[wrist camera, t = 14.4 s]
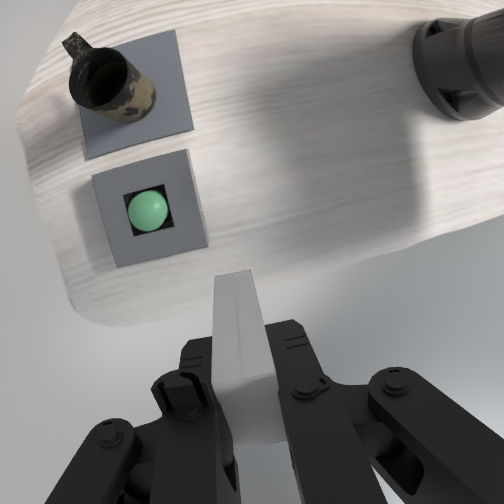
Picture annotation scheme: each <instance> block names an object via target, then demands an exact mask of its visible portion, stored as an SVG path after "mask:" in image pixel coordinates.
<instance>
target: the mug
mask: <svg viewBox="0 0 504 504" xmlns="http://www.w3.org/2000/svg"><path fill="white" fill-rule="evenodd" d="M62 44H63V46H64V48H65V49H66V51H67V52H68V53H69V55H70V56H71V57H72V59H73V64H72V72H71V75H70V78H69V90H70V94H71V96H72V98H73V99H74V100H75V101H76V103H77V104H79V105H81V106H83V107H85V108H87V109H88V110H90V111H92V112H94V113H97V114H99V115H101V116H104V117H106V118H109V119H112V120H115V121H120V122H125V123H134V122H137V121H140V120H141V119H143V118H145V117H146V116H147V115H148V114H149V113H150V112H151V110H152V109H153V107H154V105H155V102H156V89H155V86H154V85H153V83H152V82H151V81H150V80H149V79H148V78H147V77H146V76H144V75H143V74H142V73H141V72H140V71H139V70H138V69H137V68H136V67H135V66H134V65H132V64H131V63H130V62H129V61H128V60H127V59H126V58H125V57H124V56H123V55H122V54H121V53H120V52H119V51H117V50H115V49H113V48H106V47H104V48H92V47H91V46H90V45H89V44H88V43H87V42H86V41H85V40H84V39H83V38H82V37H81V36H80V35H79V34H78V33H76V32H73V33H72V34H71V36H70V37H69V38H67V39H66V40H64V41H63V42H62Z"/></svg>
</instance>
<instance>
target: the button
mask: <svg viewBox="0 0 504 504" xmlns="http://www.w3.org/2000/svg"><path fill="white" fill-rule="evenodd" d="M169 210H170V206H169V202H168V198H167V196H166V195H165V194H164V193H163V192H161V191H159V190H156V189H149V190H146V191H144V192H142V193H140V194H139V195H137V196H135V197H134V198H133V200H132V201H131V203H130V205H129V209H128V214H129V218H130V221H131V222H132V224H133V225H134V226H135V227H136V228H138V229H140V230H143V231H152V230H155V229H157V228H158V227H160V226H161V225H162V223H163V222H164V220H165V219H166V217H167V216H168V214H169Z"/></svg>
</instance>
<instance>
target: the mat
mask: <svg viewBox="0 0 504 504" xmlns="http://www.w3.org/2000/svg"><path fill="white" fill-rule="evenodd" d="M112 48H113V49H115V50H117V51H119V52H120V53H121V54H122V55H123V56H124V57H125V58H126V59H127V60H128V61H129V62H130V63H131V64H132V65H134V66H135V67H136V68H137V69H138V70H139V71H140V72H141V73H142V74H143V75H144V76H146V77H147V78H148V79H149V80H150V81H151V82H152V83H153V85H154V86H155V89H156V102H155V105H154V107H153V109H152V110H151V112H150V113H149V114H148V115H147V116H146V117H145V118H143V119H141V120H140V121H137V122H134V123H125V122H120V121H115V120H112V119H109V118H106V117H104V116H101V115H99V114H97V113H94V112H92V111H90V110H88V109H87V108H85V107H83V106H81V105H79V108H80V114H81V120H82V126H83V132H84V137H85V142H86V147H87V152H88V157H89V159H91V158H94V157H97V156H100V155H103V154H106V153H110V152H113V151H116V150H119V149H123V148H126V147H129V146H133V145H136V144H140V143H143V142H147V141H150V140H154V139H158V138H162V137H165V136H169V135H173V134H177V133H181V132H186V131H190V130H194V127H193V122H192V117H191V112H190V107H189V102H188V97H187V92H186V87H185V81H184V76H183V71H182V66H181V60H180V55H179V50H178V44H177V39H176V33H175V30H171V31H166V32H162V33H159V34H155V35H151V36H147V37H144V38H140V39H137V40H134V41H130V42H127V43H124V44H121V45H118V46H115V47H112Z"/></svg>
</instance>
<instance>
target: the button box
mask: <svg viewBox="0 0 504 504" xmlns="http://www.w3.org/2000/svg"><path fill="white" fill-rule="evenodd" d="M92 180H93V184H94V188H95V192H96V196H97V200H98V204H99V208H100V212H101V215H102V219H103V223H104V226H105V230H106V233H107V237H108V240H109V243H110V247H111V250H112V253H113V256H114V259H115V262H116V266H117V268H119V267H124V266H128V265H132V264H136V263H141V262H145V261H149V260H154V259H158V258H162V257H167V256H171V255H175V254H180V253H184V252H189V251H193V250H197V249H202V248H206V247H208V240H209V238H208V234H207V229H206V225H205V221H204V217H203V212H202V208H201V204H200V199H199V195H198V190H197V186H196V181H195V177H194V172H193V168H192V163H191V158H190V154H189V149H184V150H180V151H176V152H172V153H168V154H164V155H160V156H156V157H153V158H149V159H145V160H142V161H138V162H134V163H131V164H127V165H124V166H121V167H117V168H114V169H111V170H108V171H104V172H101V173H98V174H95V175H92ZM161 184H164V185H165V190H166V194H167V198H168V202H169V206H170V210H171V214H172V218H173V221H171V222H166V223H162V225H161V226H160V227H158V228H157V229H155V230H152V231H143V230H140V229H138V228H136V227H135V226H134V225H133V224H132V222H131V221H130V218H129V214H128V209H129V205H130V203H131V201H132V200H133V197H132V193H131V192H135V191H139V190H142V189H146V188H150V187H154V186H157V185H161Z"/></svg>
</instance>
